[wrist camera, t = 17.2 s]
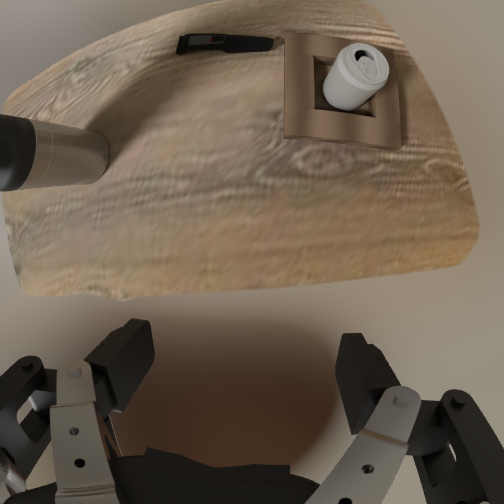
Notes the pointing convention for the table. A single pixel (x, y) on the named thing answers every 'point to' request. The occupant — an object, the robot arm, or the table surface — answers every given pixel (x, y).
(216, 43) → the electric trimmer
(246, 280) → the table surface
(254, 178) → the table surface
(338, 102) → the beverage can
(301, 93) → the hole board
